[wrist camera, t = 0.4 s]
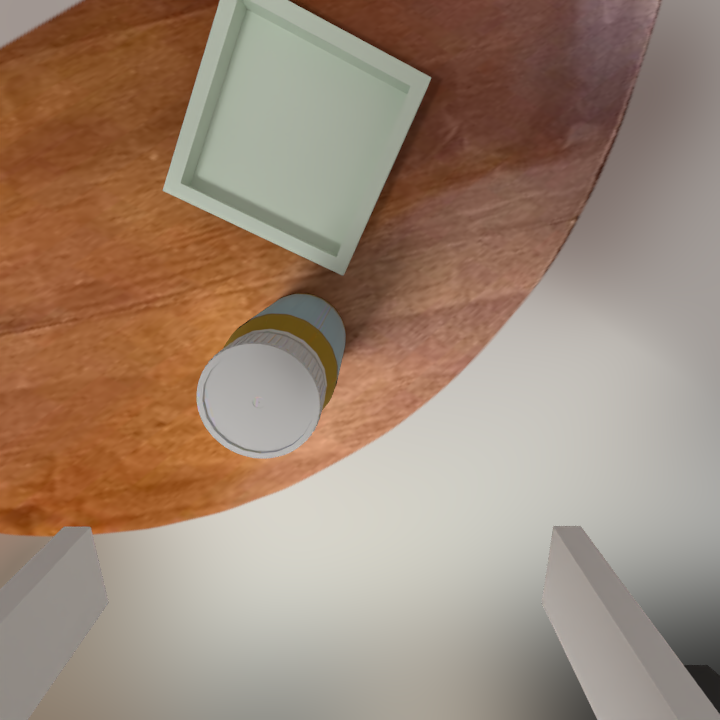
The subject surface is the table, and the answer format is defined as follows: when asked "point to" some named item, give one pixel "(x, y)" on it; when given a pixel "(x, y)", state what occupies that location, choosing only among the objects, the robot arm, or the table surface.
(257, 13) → the pale green square tray
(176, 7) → the table surface
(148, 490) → the table surface
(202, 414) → the bottle
